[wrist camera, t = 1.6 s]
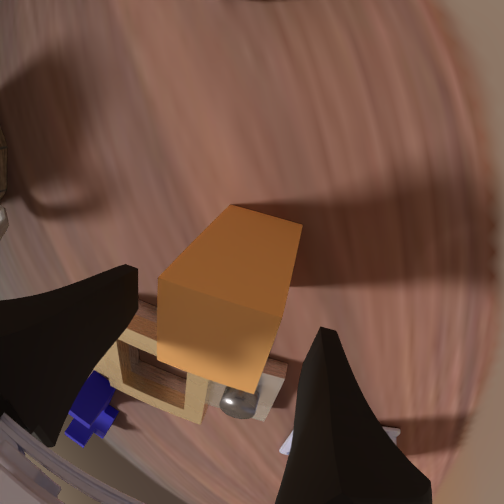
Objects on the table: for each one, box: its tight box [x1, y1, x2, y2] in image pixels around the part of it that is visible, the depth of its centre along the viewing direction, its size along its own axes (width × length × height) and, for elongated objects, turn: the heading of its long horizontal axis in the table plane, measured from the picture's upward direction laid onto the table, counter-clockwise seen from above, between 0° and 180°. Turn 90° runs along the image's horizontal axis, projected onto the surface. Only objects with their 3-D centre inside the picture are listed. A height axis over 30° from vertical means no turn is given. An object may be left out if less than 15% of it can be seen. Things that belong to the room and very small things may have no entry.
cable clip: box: [65, 370, 119, 448], centre depth 28 cm, size 12×4×6 cm, turn 148°
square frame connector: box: [93, 300, 288, 425], centre depth 21 cm, size 18×8×4 cm, turn 78°
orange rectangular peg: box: [157, 205, 303, 394], centre depth 13 cm, size 4×4×8 cm
